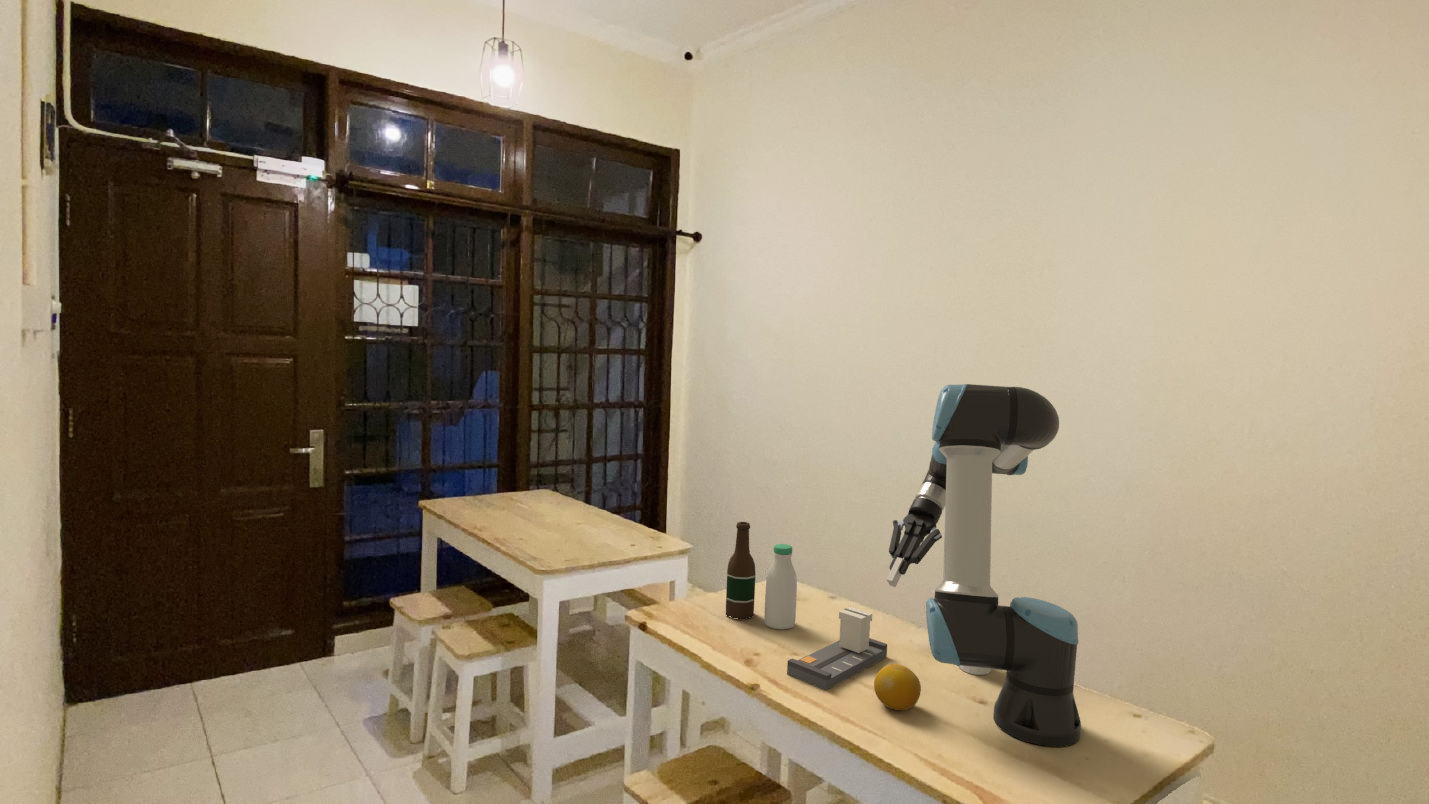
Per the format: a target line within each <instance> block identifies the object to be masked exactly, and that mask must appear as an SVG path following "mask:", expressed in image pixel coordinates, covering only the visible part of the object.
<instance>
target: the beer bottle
mask: <svg viewBox="0 0 1429 804" xmlns="http://www.w3.org/2000/svg"><path fill="white" fill-rule="evenodd" d="M735 526H736V527H735V528H736V529H737V530H736V539H735V548H734V552H733V554H732V555H731V557H730V558H729V560H728V563H727V570H726V592H725V593H726V595H725V616H726V615H727V616H726V617H728V616H731V617H732V618H738V619H737V620H740V619H746V618H749V617H752V616H753V617H754V612H755V596H756V594H755V593H756V564H755V563H756V562H755V560H754V558H753V556H752V555H751V552H750V551H751V550H750V529H751V523H750V522H747V521H738V522H737V523H736V525H735ZM753 617H752V618H753ZM732 618H731V619H732ZM749 619H750V618H749ZM746 620H747V619H746Z"/></svg>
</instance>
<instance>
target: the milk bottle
mask: <svg viewBox="0 0 1429 804" xmlns="http://www.w3.org/2000/svg"><path fill="white" fill-rule="evenodd" d="M773 555H774V556H773V561H772V563H771V565H770V567H769V569H768V571H767V575H766V578H765V580H766V581H765V593H764V594H765V596H764V597H765V599H764V616H763V617H764V620H763V622H764V624H765V626H766V627H768V628H770V629H774V630H789V629H792V628H794V627H795V625H796V617H797V615H796V614H797V613H796V612H797V592H798V579H797V574H796V571H795V567H794V565H793V562H792V556H793V546H791V544H784V543H777V544H775V545H773Z"/></svg>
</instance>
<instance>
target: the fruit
mask: <svg viewBox="0 0 1429 804" xmlns="http://www.w3.org/2000/svg"><path fill="white" fill-rule="evenodd" d="M873 689H874V692H875V695H876V697H877V699H878V700H879V701H880V703H881V704H882V705H884V706H885V707H887V708H889V709H892V710H895V711H905V710H909V709H910V708H912V707H914V706H916V704H917V703H918V701H919V699H920V696H921V692H922V686H921V682H920V679H919V678H918V675H916V673H915V672H913V670H911V669H910V668H908V667H907V666H904V665H902V664H897V663H890V664H887V665H884V666H883V667H882V668H881V669H879V671H878V672H877V673H876V675H875V678H874V682H873Z"/></svg>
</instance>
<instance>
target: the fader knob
mask: <svg viewBox="0 0 1429 804" xmlns="http://www.w3.org/2000/svg"><path fill="white" fill-rule="evenodd" d="M838 619H839V620H840V624H839V639H838V641H839V646H840V647H843V648H846V649H849V650H851V651H854V652H857V653H860V652H862V651H864V650H866V649H868V648H869V638H870V631H871V622H872V621H873V613H871V612H868V611H865V610H862V609H858V608H856V607H852V606H849V607H846V608H844V609H842V610H840V611H838Z"/></svg>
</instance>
